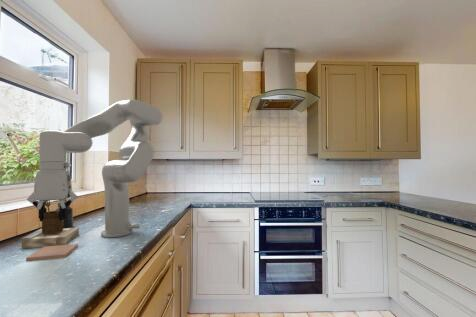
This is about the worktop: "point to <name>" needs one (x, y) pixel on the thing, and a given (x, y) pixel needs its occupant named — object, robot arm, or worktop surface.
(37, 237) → the wooden tray
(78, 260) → the worktop surface
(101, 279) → the worktop surface
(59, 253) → the terracotta tile
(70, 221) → the supplement bottle
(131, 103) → the robot arm
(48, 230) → the utensil holder
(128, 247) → the worktop surface
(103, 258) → the worktop surface
